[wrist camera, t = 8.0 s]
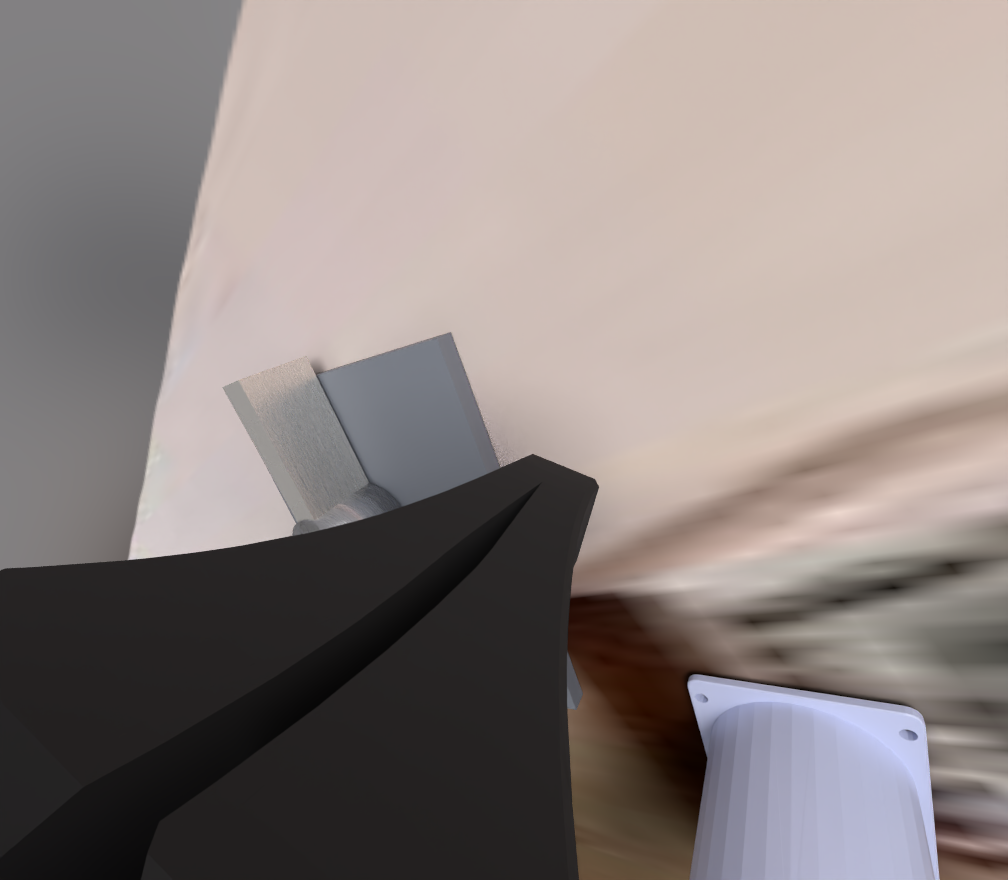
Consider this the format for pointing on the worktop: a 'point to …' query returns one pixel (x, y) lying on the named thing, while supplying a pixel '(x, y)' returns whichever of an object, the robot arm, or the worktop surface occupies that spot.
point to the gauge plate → (416, 426)
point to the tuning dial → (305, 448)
